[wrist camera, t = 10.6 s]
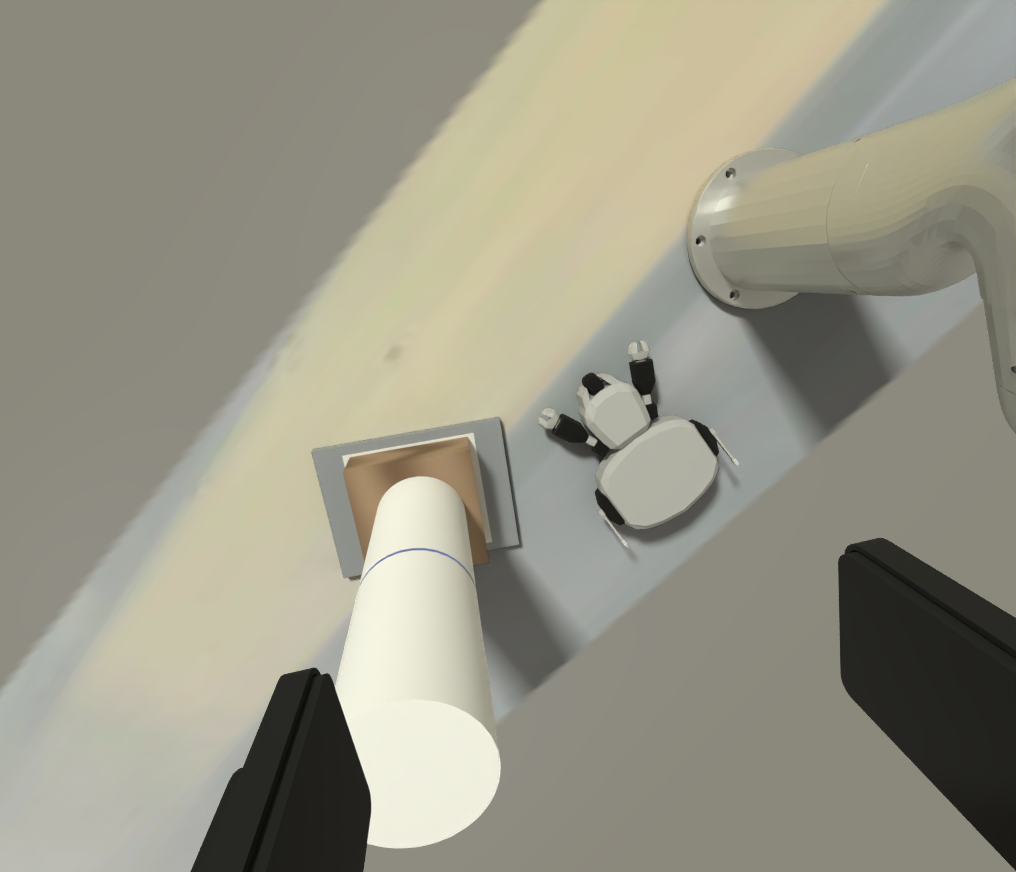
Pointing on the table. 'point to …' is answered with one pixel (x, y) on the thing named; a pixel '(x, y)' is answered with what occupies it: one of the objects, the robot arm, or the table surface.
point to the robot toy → (639, 448)
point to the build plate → (479, 433)
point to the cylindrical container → (419, 672)
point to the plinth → (387, 468)
